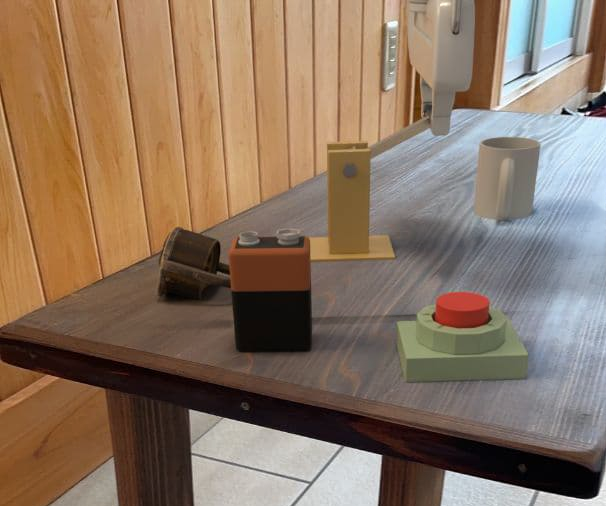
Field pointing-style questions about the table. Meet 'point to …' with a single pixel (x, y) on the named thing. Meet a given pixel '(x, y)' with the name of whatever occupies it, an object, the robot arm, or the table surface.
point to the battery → (271, 291)
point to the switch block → (460, 349)
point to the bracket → (349, 208)
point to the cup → (506, 177)
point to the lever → (401, 135)
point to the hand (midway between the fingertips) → (434, 127)
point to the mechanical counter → (190, 264)
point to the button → (462, 310)
